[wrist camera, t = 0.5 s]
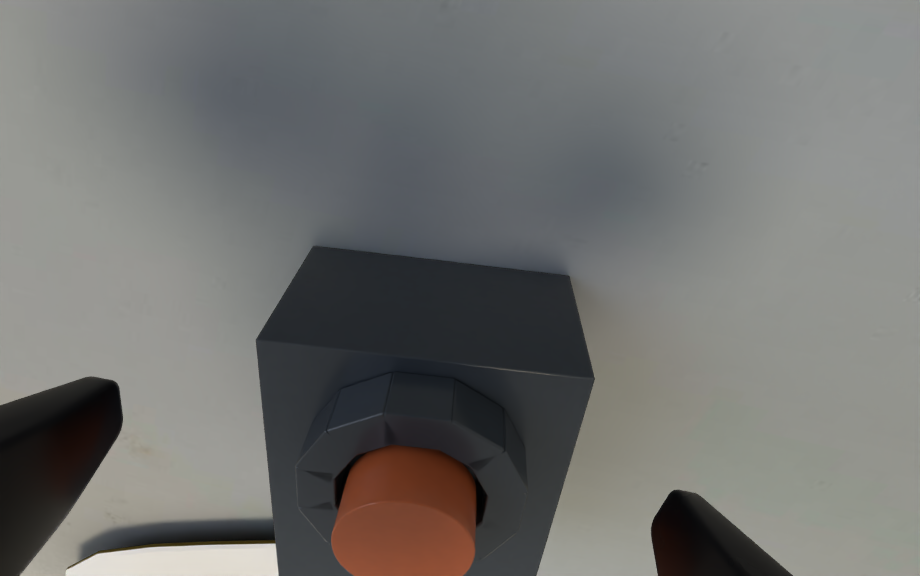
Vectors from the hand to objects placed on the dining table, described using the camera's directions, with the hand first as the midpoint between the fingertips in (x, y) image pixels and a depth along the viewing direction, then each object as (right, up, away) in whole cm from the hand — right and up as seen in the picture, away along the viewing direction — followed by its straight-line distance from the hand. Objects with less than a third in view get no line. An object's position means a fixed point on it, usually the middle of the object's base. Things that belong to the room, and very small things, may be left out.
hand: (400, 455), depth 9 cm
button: (-1, -4, +8) cm, 9 cm away
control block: (0, -1, +16) cm, 16 cm away
